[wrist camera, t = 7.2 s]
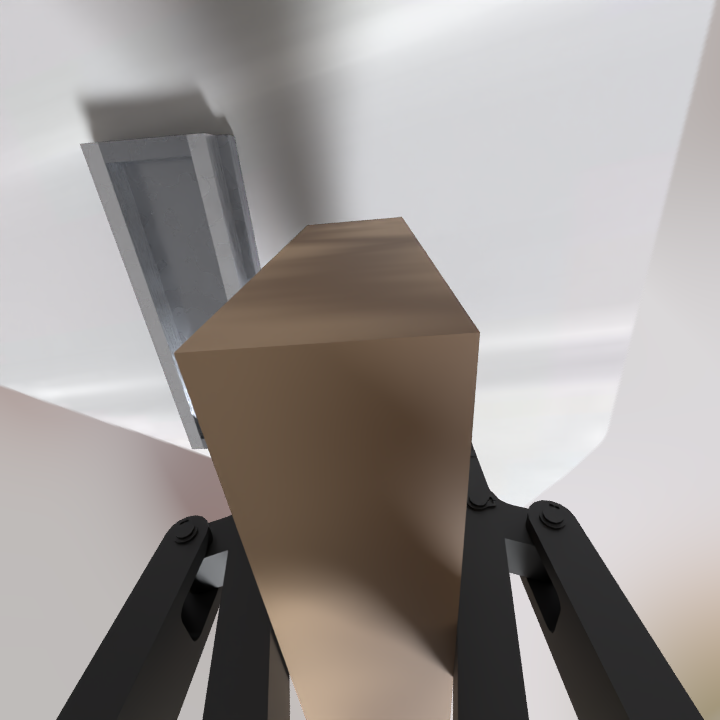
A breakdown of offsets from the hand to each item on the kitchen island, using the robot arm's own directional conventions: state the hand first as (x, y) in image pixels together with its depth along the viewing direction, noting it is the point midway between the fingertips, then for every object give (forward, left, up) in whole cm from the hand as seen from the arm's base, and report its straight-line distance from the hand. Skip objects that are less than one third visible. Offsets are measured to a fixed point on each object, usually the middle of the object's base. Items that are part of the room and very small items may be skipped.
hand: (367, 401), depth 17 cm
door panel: (0, 0, -2) cm, 2 cm away
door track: (-14, 0, -16) cm, 21 cm away
